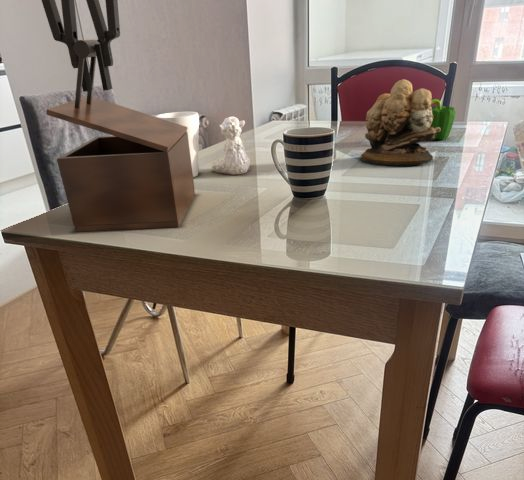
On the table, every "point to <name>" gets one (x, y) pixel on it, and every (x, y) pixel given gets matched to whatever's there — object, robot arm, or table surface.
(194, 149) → the foam cup
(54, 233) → the table surface
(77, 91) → the bin lid
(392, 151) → the owl figurine
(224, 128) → the white creature statuette
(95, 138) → the bin
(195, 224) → the table surface
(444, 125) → the bell pepper
